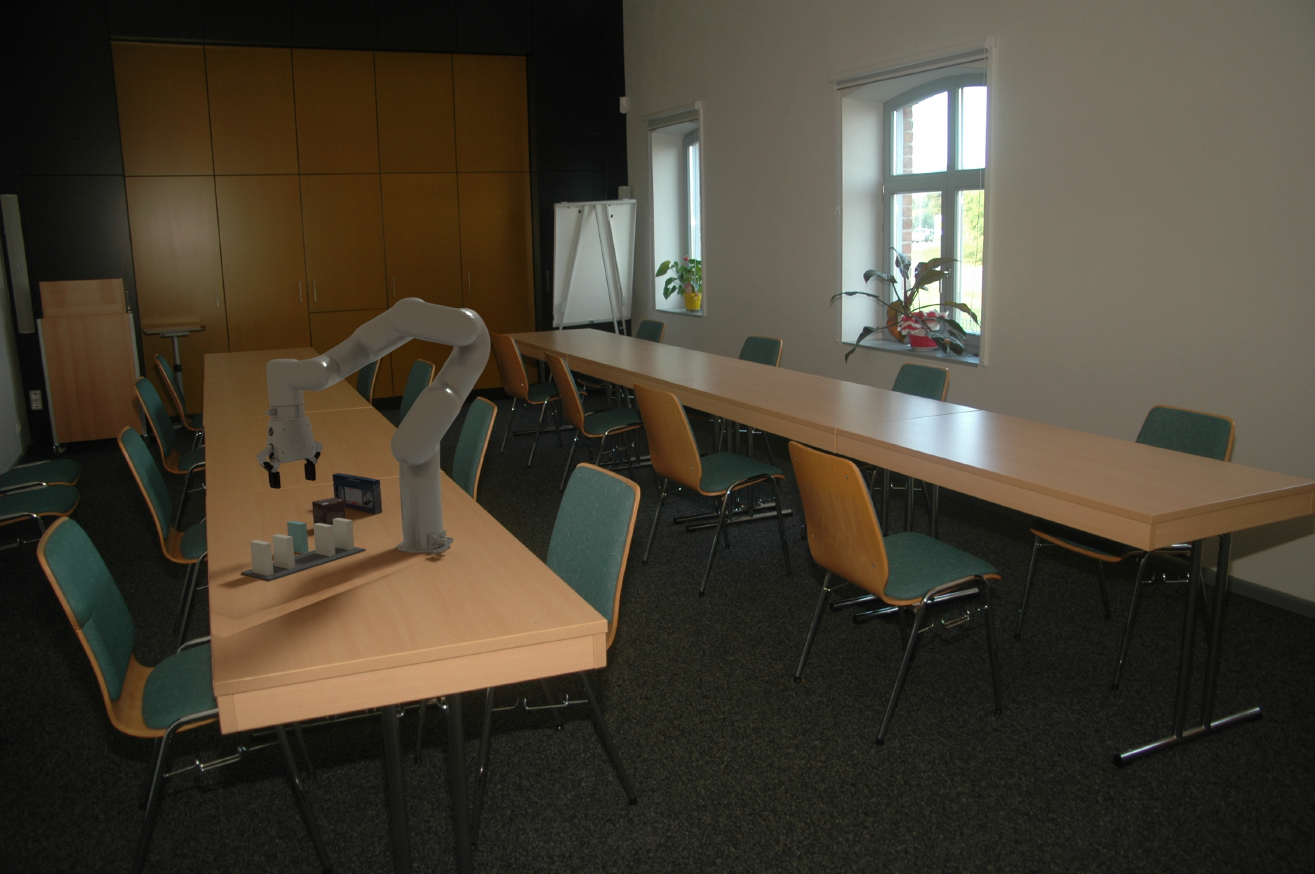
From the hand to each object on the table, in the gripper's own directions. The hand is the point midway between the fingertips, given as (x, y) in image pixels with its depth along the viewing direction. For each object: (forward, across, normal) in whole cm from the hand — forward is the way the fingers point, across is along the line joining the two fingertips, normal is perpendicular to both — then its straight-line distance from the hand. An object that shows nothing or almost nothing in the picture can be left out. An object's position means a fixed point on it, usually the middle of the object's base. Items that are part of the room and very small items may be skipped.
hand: (293, 484), depth 219 cm
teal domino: (+16, 0, 0) cm, 16 cm away
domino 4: (+16, +6, -9) cm, 19 cm away
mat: (+16, -5, -9) cm, 19 cm away
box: (+17, +18, +11) cm, 27 cm away
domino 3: (+16, 0, -9) cm, 18 cm away
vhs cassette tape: (+17, +34, +19) cm, 42 cm away
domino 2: (+16, -10, -9) cm, 21 cm away
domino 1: (+16, -16, -9) cm, 24 cm away
